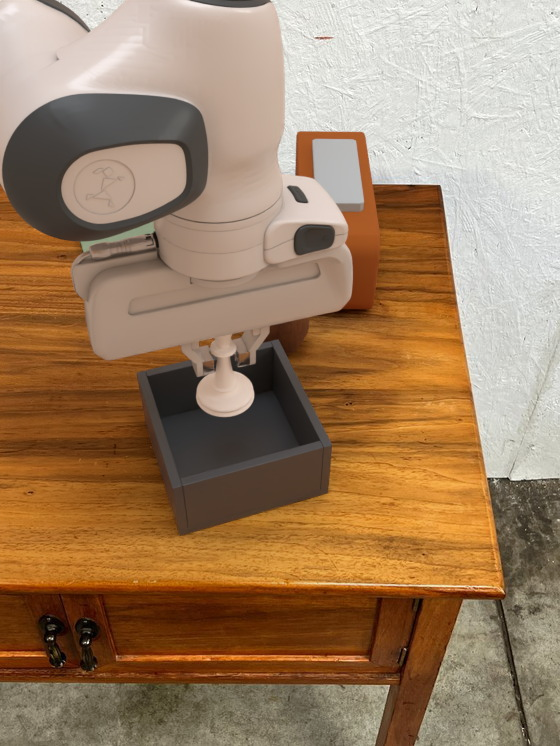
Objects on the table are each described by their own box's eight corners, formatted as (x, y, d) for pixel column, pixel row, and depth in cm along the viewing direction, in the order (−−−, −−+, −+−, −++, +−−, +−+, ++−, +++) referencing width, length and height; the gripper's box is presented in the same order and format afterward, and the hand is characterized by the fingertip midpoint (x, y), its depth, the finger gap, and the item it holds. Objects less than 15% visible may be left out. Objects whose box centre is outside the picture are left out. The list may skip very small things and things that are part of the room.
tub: (179, 536, 66) (172, 488, 61) (145, 421, 75) (136, 372, 70) (328, 493, 69) (332, 444, 64) (278, 388, 78) (278, 338, 73)
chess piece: (254, 374, 68) (253, 284, 61) (254, 417, 64) (253, 326, 57) (197, 375, 68) (190, 285, 60) (194, 417, 64) (186, 327, 57)
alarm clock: (372, 317, 86) (383, 231, 78) (297, 316, 86) (299, 231, 78) (357, 196, 103) (365, 116, 94) (294, 196, 102) (296, 115, 94)
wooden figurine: (243, 328, 84) (239, 210, 74) (294, 317, 86) (297, 201, 75) (261, 370, 80) (259, 252, 69) (314, 358, 81) (320, 240, 70)
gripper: (73, 278, 49) (103, 423, 59) (370, 222, 54) (352, 364, 64) (58, 223, 53) (89, 367, 63) (335, 176, 58) (324, 316, 68)
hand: (224, 365), depth 63 cm, fingers closed on chess piece
